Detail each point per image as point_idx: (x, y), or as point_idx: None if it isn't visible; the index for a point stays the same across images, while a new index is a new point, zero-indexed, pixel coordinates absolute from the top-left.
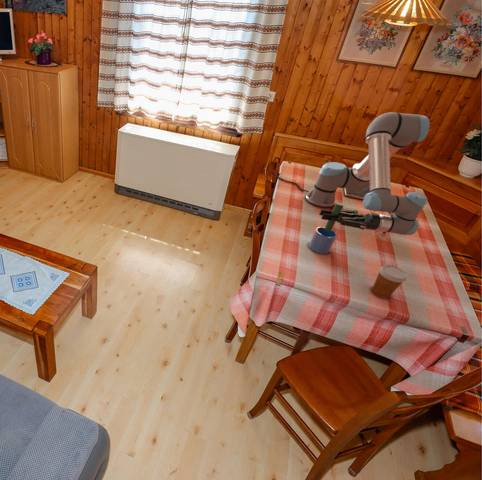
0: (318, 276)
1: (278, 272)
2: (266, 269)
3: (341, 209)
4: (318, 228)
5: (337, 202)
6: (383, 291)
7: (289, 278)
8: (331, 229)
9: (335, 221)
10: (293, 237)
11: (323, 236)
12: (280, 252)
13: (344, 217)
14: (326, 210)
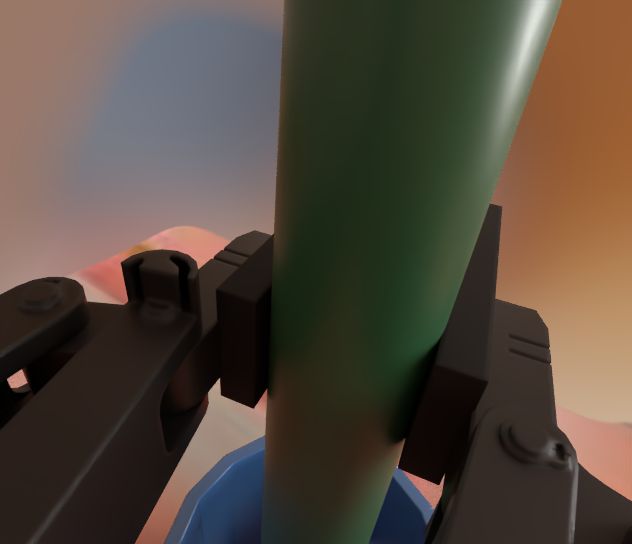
0: (16, 380)
1: None
2: (195, 235)
3: (297, 140)
4: (418, 519)
5: None
6: None
7: (105, 266)
8: (262, 534)
9: (270, 443)
10: None
11: (236, 455)
12: None
13: (113, 395)
14: (484, 240)
